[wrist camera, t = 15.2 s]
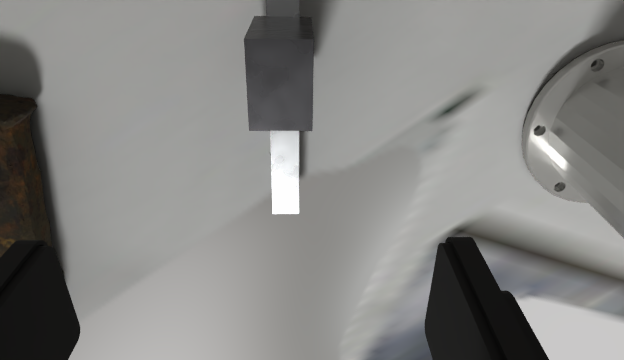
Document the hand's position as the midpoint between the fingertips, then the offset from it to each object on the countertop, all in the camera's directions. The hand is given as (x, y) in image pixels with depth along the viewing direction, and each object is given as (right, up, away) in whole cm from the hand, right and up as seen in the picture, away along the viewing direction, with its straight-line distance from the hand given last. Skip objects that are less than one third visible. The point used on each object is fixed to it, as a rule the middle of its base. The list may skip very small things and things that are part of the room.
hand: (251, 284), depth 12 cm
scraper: (0, +12, +21) cm, 24 cm away
